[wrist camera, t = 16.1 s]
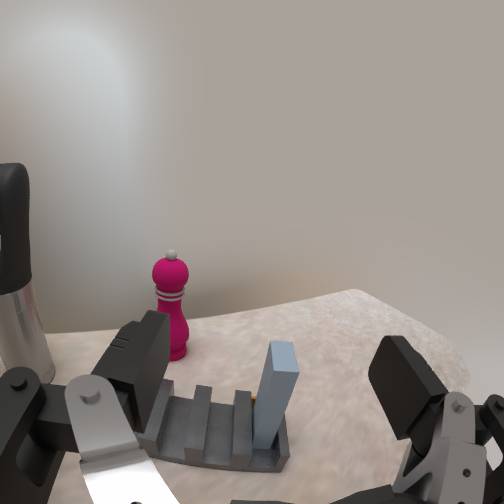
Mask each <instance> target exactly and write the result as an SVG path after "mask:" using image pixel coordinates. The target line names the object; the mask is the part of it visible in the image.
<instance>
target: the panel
mask: <svg viewBox="0 0 504 504" xmlns="http://www.w3.org/2000/svg"><path fill="white" fill-rule="evenodd" d="M298 375H299V368H298V364H297V360H296V355H295V351H294V347H293V342H280V341H270V344H269V349H268V353H267V357H266V361H265V365H264V369H263V373H262V378H261V382H260V386H259V390H258V393H257V397H256V401H255V405H254V409H253V413H252V448H256V449H270V447H271V445H272V442H273V440H274V438H275V435H276V433H277V430H278V428H279V426H280V423H281V420H282V418H283V415H284V413H285V410H286V408H287V405H288V402H289V400H290V397H291V394H292V392H293V389H294V386H295V383H296V380H297V378H298Z"/></svg>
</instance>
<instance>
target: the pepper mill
mask: <svg viewBox="0 0 504 504" xmlns="http://www.w3.org/2000/svg"><path fill="white" fill-rule="evenodd" d="M176 257H177V253H176V251H174V250H173V249H170V250H168V251H167V252H166V258H163V259H160V260H159V261H158V262H157V263H156V264H155V265H154V267H153V271H152V277H153V281H154V282H155V284H156V286H155V290H156V291H155V295H156V297H158V308H157V312H162V313H168V314H169V315H170V357H169V361H175V360H178V359H181V358H182V357H183V356H184V355H185V353H186V342H187V340H188V338H189V328H188V325H187V322H186V320H185V318H184V316H183V314H182V310H181V299H182V298H183V297H184V295H185V293H184V291H185V288H184V285H185V284H186V283H187V281H188V276H189V274H188V268H187V266H186V264H185V263H184V262H183V261H181V260H180V259H177V258H176Z"/></svg>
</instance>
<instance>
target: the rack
mask: <svg viewBox="0 0 504 504" xmlns="http://www.w3.org/2000/svg"><path fill="white" fill-rule="evenodd" d="M211 394H212V387H208V386H201V385H196V390H195V395H194V400H193V399H187V398H181V397H176V396H174V381H173V380H168V379H163V380H162V383H161V385H160V388H159V391H158V394H157V397H156V400H155V403H154V406H153V409H152V412H151V415H150V418H149V421H148V424H147V427H146V430H145V433H144V434H142V433H138V432H135V431H134V432H133V433H134V435H135V437H136V439H137V441H138V443H139V445H140V446H141V447H143V448H144V450H145V451H146V453H147V455H148V456H149V457H152V458H156V459H161V460H165V461H170V462H175V463H180V464H185V465H191V466H198V467H204V468H212V469H221V470H231V471H245V472H281V471H282V469H283V467H284V465H285V464H286V462H287V460H288V459H289V457H290V452H289V444H288V437H287V429H286V421H285V414H284V415H283V418H282V420H281V423H280V426H279V428H278V430H277V433H276V435H275V438H274V440H273V442H272V445H271V447H270V449H256V448H252V413H253V409H254V405H255V401H256V397H252V396H251V392H250V391H240V390H236V391H235V396H234V402H233V405H228V404H220V403H212V402H211Z"/></svg>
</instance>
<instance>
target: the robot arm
mask: <svg viewBox="0 0 504 504" xmlns="http://www.w3.org/2000/svg"><path fill="white" fill-rule="evenodd" d="M29 190H30V189H29V177H28V173H27V170H26V168H25V166H24V165H23V164H20V163H6V164H0V235H1V250H0V355H1V358H2V360H3V362H4V365H5V367H6V369H7V371H6V372H5V373H4V374H3V375H2V377H1V378H0V504H47V502H48V499H49V496H50V493H51V490H52V487H53V484H54V481H55V478H56V476H57V473H58V470H59V468H60V465H61V462H62V460H63V457H64V455H65V452H66V451H68V452H76V453H80V455H81V460H80V462H79V463H80V468H81V471H82V474H83V477H84V479H85V482H86V484H87V487H88V489H89V492H90V494H91V496H92V499H93V501H94V503H95V504H179V503H178V502H177V501H176V499H175V498H174V496H173V495H172V493H171V492H170V490H169V489H168V487H167V486H166V484H165V483H164V481H163V480H162V478H161V476H160V475H159V473H158V471H157V470H156V468H155V466H154V465H153V463H152V461H151V460H150V458H149V456H148V455H147V453H146V451H145V450H144V448H143V447H141V446H140V445H139V443H138V441H137V439H136V437H135V435H134V433H133V432H134V431H135V432H138V433H142V434H144V433H145V430H146V427H147V424H148V421H149V418H150V415H151V412H152V409H153V406H154V403H155V400H156V397H157V394H158V391H159V388H160V385H161V383H162V380H163V377H164V374H165V371H166V369H167V366H168V362H169V357H170V315H169V314H168V313H162V312H157V311H152V310H148V311H147V312H146V314H145V316H144V317H143V319H142V320H141V322H135V321H132V322H130V323H128V324H127V325H125V326H123V327H122V328H121V329H120V331H119V332H118V333H117V335H116V336H115V339H113V341H112V342H111V344H110V346H109V347H108V348H107V350H106V351H105V353H104V354H103V356H102V357H101V359H100V360H99V362H98V363H97V365H96V366H95V368H94V369H93V371H92V372H91V374H90V375H82V376H79V377H76V378H74V379H73V380H71V381H70V382H69V383H68V385H67V386H61V385H52V384H49V382H50V381H51V380H52V379H53V377H54V374H55V367H54V364H53V361H52V358H51V355H50V352H49V348H48V345H47V341H46V338H45V334H44V331H43V327H42V323H41V319H40V315H39V310H38V306H37V302H36V296H35V291H34V286H33V280H32V273H31V264H30V240H29V199H30V198H29V197H30V191H29ZM368 377H369V381H370V383H371V385H372V387H373V389H374V391H375V393H376V395H377V397H378V399H379V401H380V403H381V406H382V408H383V410H384V412H385V414H386V416H387V418H388V420H389V423H390V425H391V427H392V429H393V431H394V433H395V436H396V438H397V440H402V439H407V438H410V439H411V441H410V442H409V444H408V445H407V447H406V450H405V454H404V457H403V460H402V463H401V466H400V469H399V472H398V474H397V477H396V480H395V482H394V484H393V486H392V487H391V484H389V485H386V486H382V487H378V488H374V489H369V490H365V491H360V492H357V493H354V494H352V495H350V496H348V497H345V498H343V499H340V500H338V501H335V502H333V503H330V504H504V398H503V397H501V396H499V395H495V394H493V395H490V396H489V397H488V399H487V400H486V401H485V403H484V404H483V405H474V404H473V402H472V401H471V400H470V399H469V398H468V397H467V396H466V395H464V394H462V393H459V392H450V393H449V392H448V390H447V389H446V387H445V386H444V385H443V383H442V382H441V381H440V379H439V378H438V377H437V375H436V374H435V373H434V371H432V369H431V367H430V366H429V365H428V364H427V362H426V361H425V359H424V358H423V357H422V356H421V354H419V353H418V352H417V351H415V350H414V349H413V348H412V346H411V345H410V344H409V342H408V341H407V340H406V339H405V337H403V336H385V337H383V339H382V340H381V342H380V345H379V347H378V349H377V351H376V354H375V356H374V358H373V360H372V362H371V364H370V367H369V371H368ZM492 436H493V437H494V439H495V441H496V443H497V444H498V446H499V448H500V450H501V451H502V454H503V460H502V462H501V464H500V465H499V466H498V467H497V468H496V469H495V470H494V471H493V470H492V469H491V467H490V465H489V463H488V461H487V459H486V453H487V452H486V448H485V446H484V445H485V444H486V443H487V442H488V441H489V440H490V438H491V437H492ZM230 504H292V503H286V502H280V501H245V500H232V501H231V503H230Z"/></svg>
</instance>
